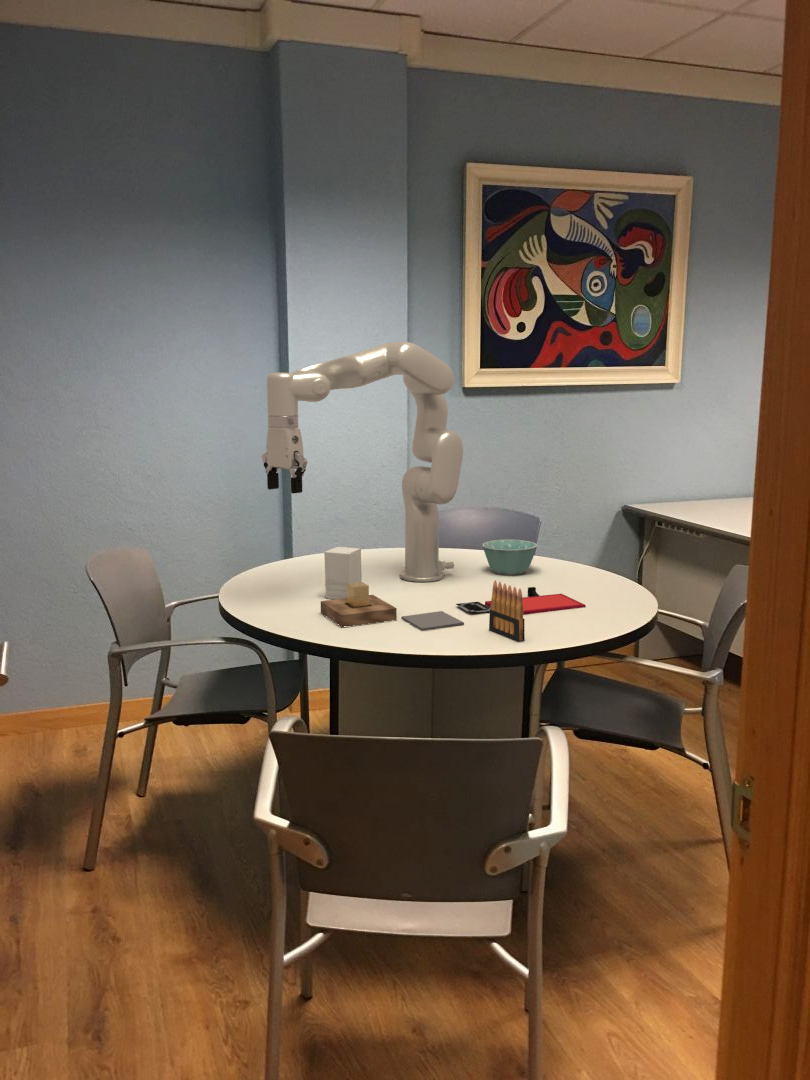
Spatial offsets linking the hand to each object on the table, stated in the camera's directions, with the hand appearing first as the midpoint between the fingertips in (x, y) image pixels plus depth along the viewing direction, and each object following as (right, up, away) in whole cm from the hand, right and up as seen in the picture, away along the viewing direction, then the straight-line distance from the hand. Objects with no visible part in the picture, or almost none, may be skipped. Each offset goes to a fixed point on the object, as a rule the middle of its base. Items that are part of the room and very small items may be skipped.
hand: (284, 490), depth 234 cm
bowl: (+61, -22, +36) cm, 74 cm away
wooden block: (+19, -31, -10) cm, 38 cm away
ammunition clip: (+53, -34, -25) cm, 68 cm away
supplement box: (+14, -28, +9) cm, 32 cm away
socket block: (+19, -31, -10) cm, 38 cm away
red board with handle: (+59, -30, -1) cm, 66 cm away
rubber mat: (+37, -32, -14) cm, 51 cm away
